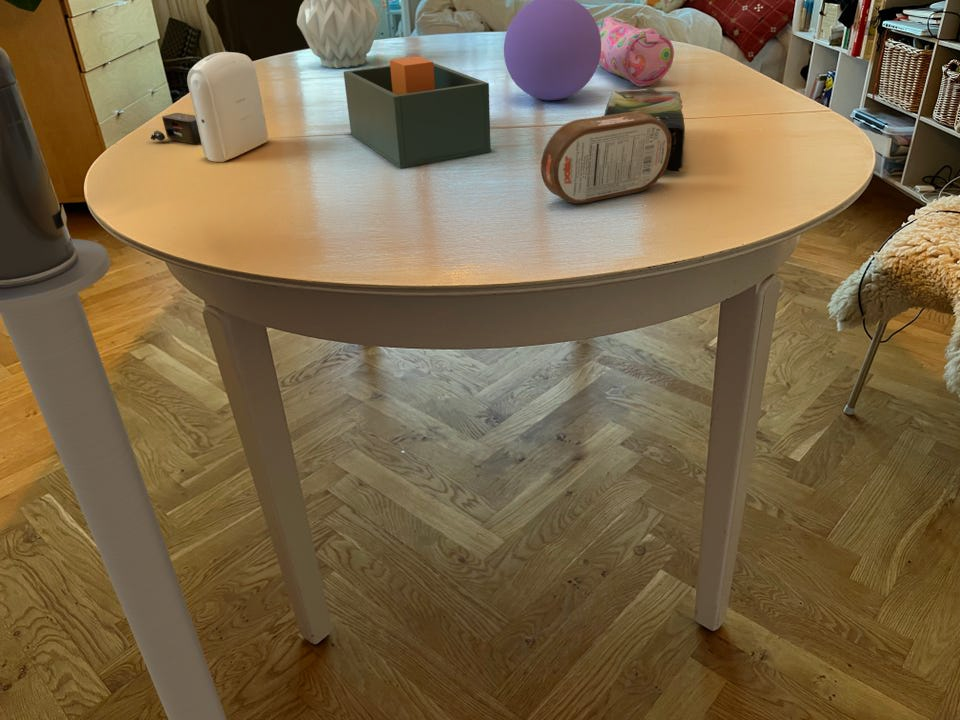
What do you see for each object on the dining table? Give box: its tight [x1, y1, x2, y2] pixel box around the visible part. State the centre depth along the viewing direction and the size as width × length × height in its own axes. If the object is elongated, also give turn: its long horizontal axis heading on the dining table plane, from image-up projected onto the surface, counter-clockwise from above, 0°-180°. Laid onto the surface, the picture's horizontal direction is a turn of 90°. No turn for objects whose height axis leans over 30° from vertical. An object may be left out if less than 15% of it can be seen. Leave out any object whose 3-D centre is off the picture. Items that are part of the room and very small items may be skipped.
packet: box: [389, 55, 435, 95], centre depth 100 cm, size 4×5×10 cm
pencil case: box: [597, 15, 675, 87], centre depth 132 cm, size 21×9×9 cm, turn 11°
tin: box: [540, 111, 672, 205], centre depth 80 cm, size 15×3×8 cm, turn 115°
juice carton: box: [603, 88, 686, 172], centre depth 94 cm, size 20×10×6 cm, turn 169°
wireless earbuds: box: [150, 112, 202, 145], centre depth 106 cm, size 5×7×3 cm, turn 56°
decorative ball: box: [503, 0, 601, 101], centre depth 117 cm, size 15×15×15 cm
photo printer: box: [186, 51, 269, 163], centre depth 99 cm, size 10×4×12 cm, turn 158°
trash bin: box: [343, 62, 492, 169], centre depth 100 cm, size 13×19×8 cm
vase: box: [296, 0, 381, 69], centre depth 148 cm, size 16×16×18 cm
